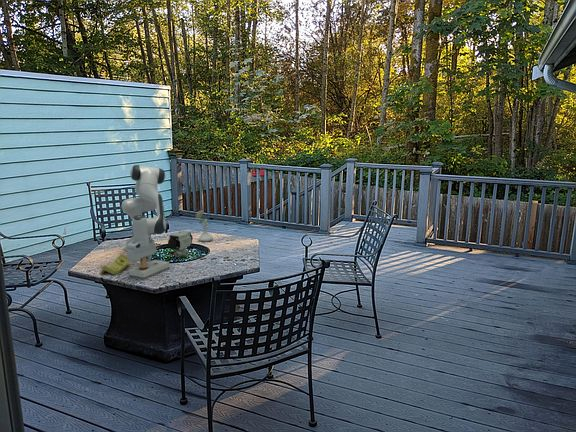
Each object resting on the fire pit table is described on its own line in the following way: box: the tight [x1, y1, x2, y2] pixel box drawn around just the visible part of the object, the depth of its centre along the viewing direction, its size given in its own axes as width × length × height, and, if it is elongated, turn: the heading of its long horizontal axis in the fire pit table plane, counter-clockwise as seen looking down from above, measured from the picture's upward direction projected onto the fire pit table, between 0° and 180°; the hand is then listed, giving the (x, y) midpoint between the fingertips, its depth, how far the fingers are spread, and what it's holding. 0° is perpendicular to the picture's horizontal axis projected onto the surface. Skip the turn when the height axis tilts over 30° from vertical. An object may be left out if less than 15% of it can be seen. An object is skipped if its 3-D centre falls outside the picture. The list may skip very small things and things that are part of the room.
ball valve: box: [167, 230, 193, 258], centre depth 296 cm, size 18×8×18 cm, turn 154°
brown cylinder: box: [138, 256, 148, 270], centre depth 260 cm, size 4×4×10 cm
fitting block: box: [128, 259, 170, 280], centre depth 265 cm, size 22×12×4 cm, turn 153°
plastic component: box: [99, 253, 131, 275], centre depth 271 cm, size 20×7×10 cm
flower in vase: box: [195, 209, 214, 242], centre depth 335 cm, size 13×11×25 cm
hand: (143, 264), depth 260 cm, fingers open, 8 cm apart
